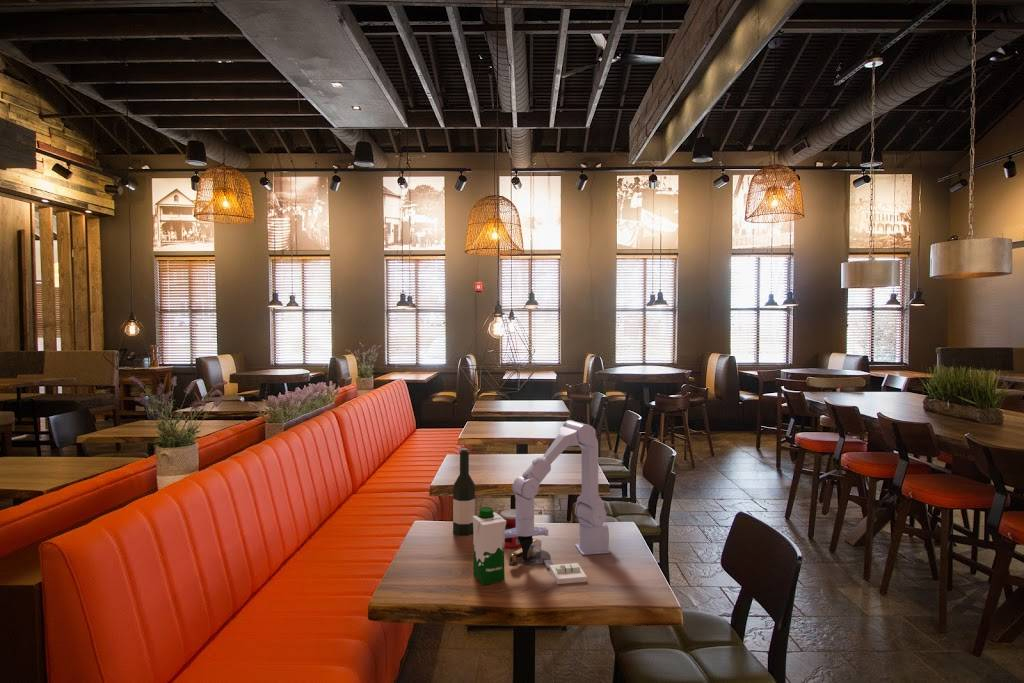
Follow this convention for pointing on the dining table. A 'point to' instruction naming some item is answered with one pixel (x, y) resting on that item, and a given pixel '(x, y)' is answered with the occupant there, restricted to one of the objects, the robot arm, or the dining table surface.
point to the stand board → (567, 573)
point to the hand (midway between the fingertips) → (524, 559)
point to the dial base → (540, 560)
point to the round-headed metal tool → (532, 553)
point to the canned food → (510, 524)
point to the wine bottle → (463, 498)
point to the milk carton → (488, 546)
